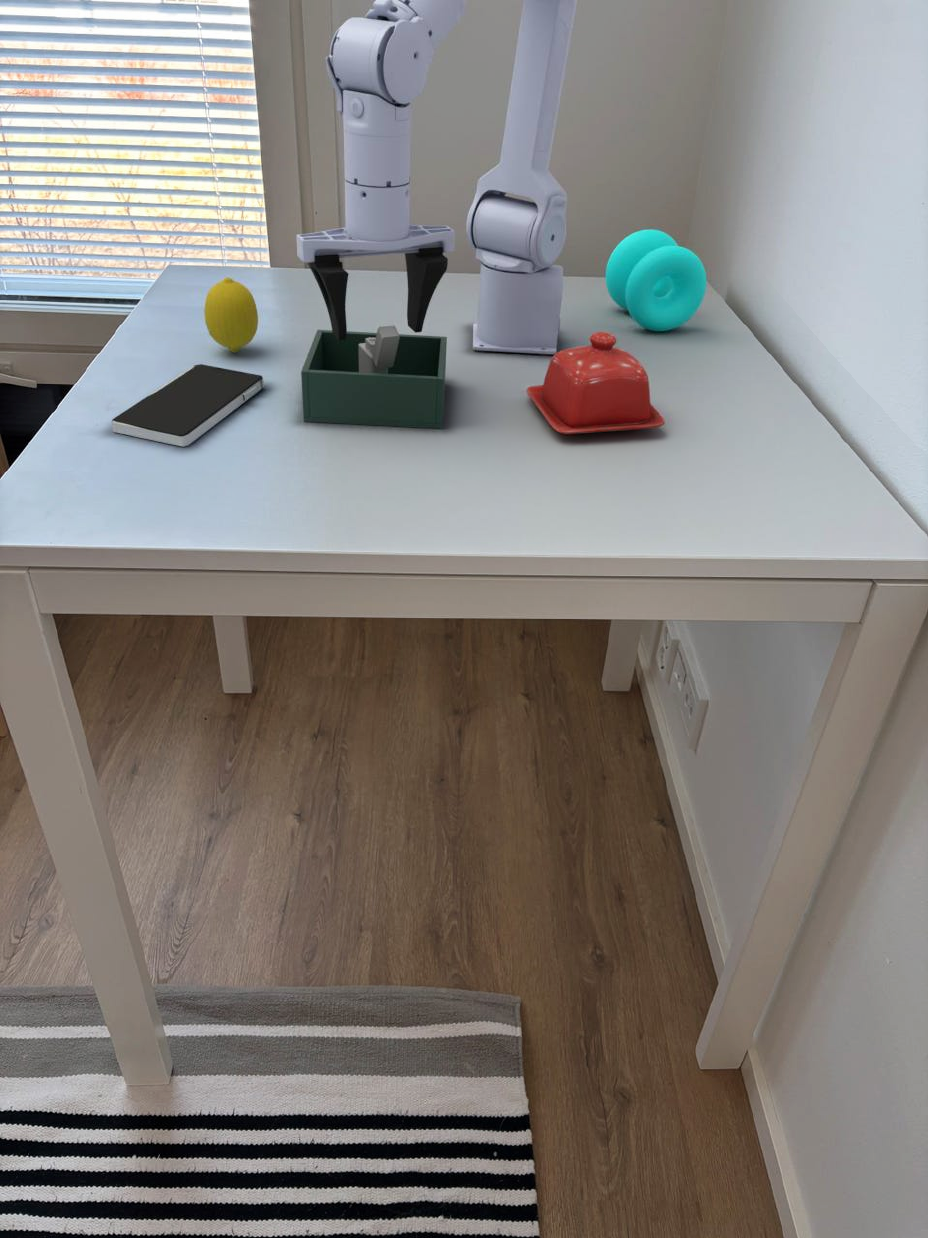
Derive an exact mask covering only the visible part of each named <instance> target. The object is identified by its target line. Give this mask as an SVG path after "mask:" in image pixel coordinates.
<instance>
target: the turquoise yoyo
mask: <svg viewBox="0 0 928 1238" xmlns="http://www.w3.org/2000/svg"><path fill="white" fill-rule="evenodd" d="M605 286H606V289H607V292H608V294H609V296H610V298H611V299H612V300H613V302H614V303H616V305H617V306H619V307H620V308H622V309H623V310H626V311H628V313H629V315H630V317H631V318H632V319H633V321H634V322H635V323H636V324H638V325H639V326H640V327H642V328H644V329H645V330H649V331H653V332H666V331H671V330H675V329H676V328H678V327H680V326H682V325H683V324H685V323H686V322H687V321H689V320H690V319H691V318H693V316H694V315H695V314H696V313H697V312H698V309H699V308H700V307H701V305H702V302H703V300H704V298H705V295H706V290H707V273H706V270H705V266H704V264H703V262H702V261H701V259H700V257H699V256H698V255H697V254H696V253H694V252H693V251H692V250H690V249H688V248H686V247H683V246H680V245H678V243H677V241H676V240H675V239H674V238H673V237H672V236H670V235H669V234H668V233H666V232H664V231H662V230H659V229H642V230H638V231H636V232H633V233H631V234H629V235H628V236H626V237H624V238H623V239H622V240H621V241H620V242H619V243H618V244H617V245H616V247H615V248H614V249H613V251H612V252H611V254H610V257H609V259H608V261H607V264H606V267H605Z"/></svg>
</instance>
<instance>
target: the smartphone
mask: <svg viewBox="0 0 928 1238" xmlns="http://www.w3.org/2000/svg"><path fill="white" fill-rule="evenodd" d="M264 387H265V385H264V378H263V375H261V374H255V373H251V372H250V373H249V372H244V371H239V370H234V369H229V368H224V367H218V366H213V365H207V364H202V363H200V364H195V365H193V366H191V367H190V368H188V369H187V370H185V371H184V372H182V373H180V374H179V375H178V376H176V377H175V378H173V379H172V380H170V381H169V382H167V383H166V384H164V385H163V386H161V387H159V388H158V389H157V390H155V391H153V392H152V393H150V394H149V395H147V396H146V397H144V398H142V399H140V400H139V401H138V402H137V403H135V404H134V405H132V406H130V407H129V408H128V409H125V410H124V411H123V412H121V413H119V414H118V415H117V416H115V417H114V418H112V420H111V427H112V431H113V433H118V434H121V435H126V436H131V437H135V438H140V439H144V440H150V441H155V442H160V443H164V444H169V445H173V446H178V447H187V446H190V445H191V444H192V443H193V442H195V441H196V440H197V439H198V438H200V437H201V436H202V435H204V434H205V433H207V431H209V430H210V429H211V428H213V427H214V426H215V425H217V424H218V423H220V422H221V421H222V420H223V419H224V418H226V417H227V416H229V414H231V413H232V412H234V411H235V410H236V409H238V408H239V407H240V406H242V405H243V404H245V402H247V401H248V400H249V399H250V398H252V397H253V396H255V395H256V394H257V393H258V392H260V391H261V390H263V389H264Z"/></svg>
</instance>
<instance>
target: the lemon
mask: <svg viewBox="0 0 928 1238" xmlns="http://www.w3.org/2000/svg"><path fill="white" fill-rule="evenodd" d="M204 301H205V302H204V309H203V310H204V312H203V313H204V321H205V325H206V326H205V327H206V329H207V331H208V334H209V336H210V337H211V338H212V340H214V342H215V343H217V344H218V345H220V346H222V347H224V348H227V349H228V350H229V351H230V352H231V353H238V352H239V351H240V350H241V348H242V347H246V346H247V345H248V344H250V343H251V342H252V341H253V339H254V338H255V336H256V334H257V331H258V325H259V315H258V308H257V305H256V301H255V298H254V296H253V293H251V291H250V290H249V289H248V287H246V286H245V285H244V284H242V283H241V282H240V281H239V282H238V281H236V280H233V278H232V277H224V279H223V280H221V281H219V282H217V283H215V284H214V285H213V286H212V287H211V288H210V289H209V290H208V292H207V295H206V298H205V300H204Z"/></svg>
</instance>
